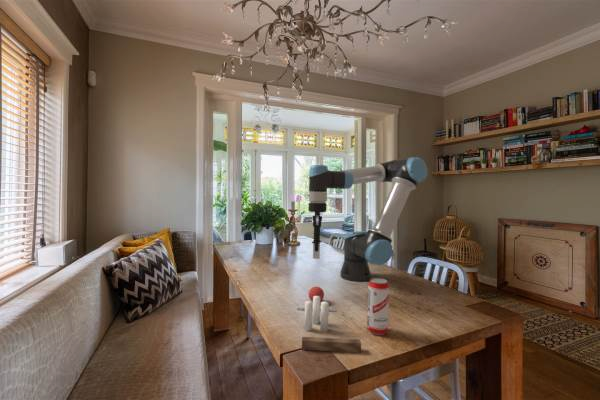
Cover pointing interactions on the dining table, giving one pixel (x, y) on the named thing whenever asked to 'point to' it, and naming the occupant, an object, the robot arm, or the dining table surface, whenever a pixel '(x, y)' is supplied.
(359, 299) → the dining table surface
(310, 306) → the pin back left
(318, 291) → the ball
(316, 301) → the pin front
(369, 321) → the beer can
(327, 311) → the pin back right
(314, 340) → the back wall
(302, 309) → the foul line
